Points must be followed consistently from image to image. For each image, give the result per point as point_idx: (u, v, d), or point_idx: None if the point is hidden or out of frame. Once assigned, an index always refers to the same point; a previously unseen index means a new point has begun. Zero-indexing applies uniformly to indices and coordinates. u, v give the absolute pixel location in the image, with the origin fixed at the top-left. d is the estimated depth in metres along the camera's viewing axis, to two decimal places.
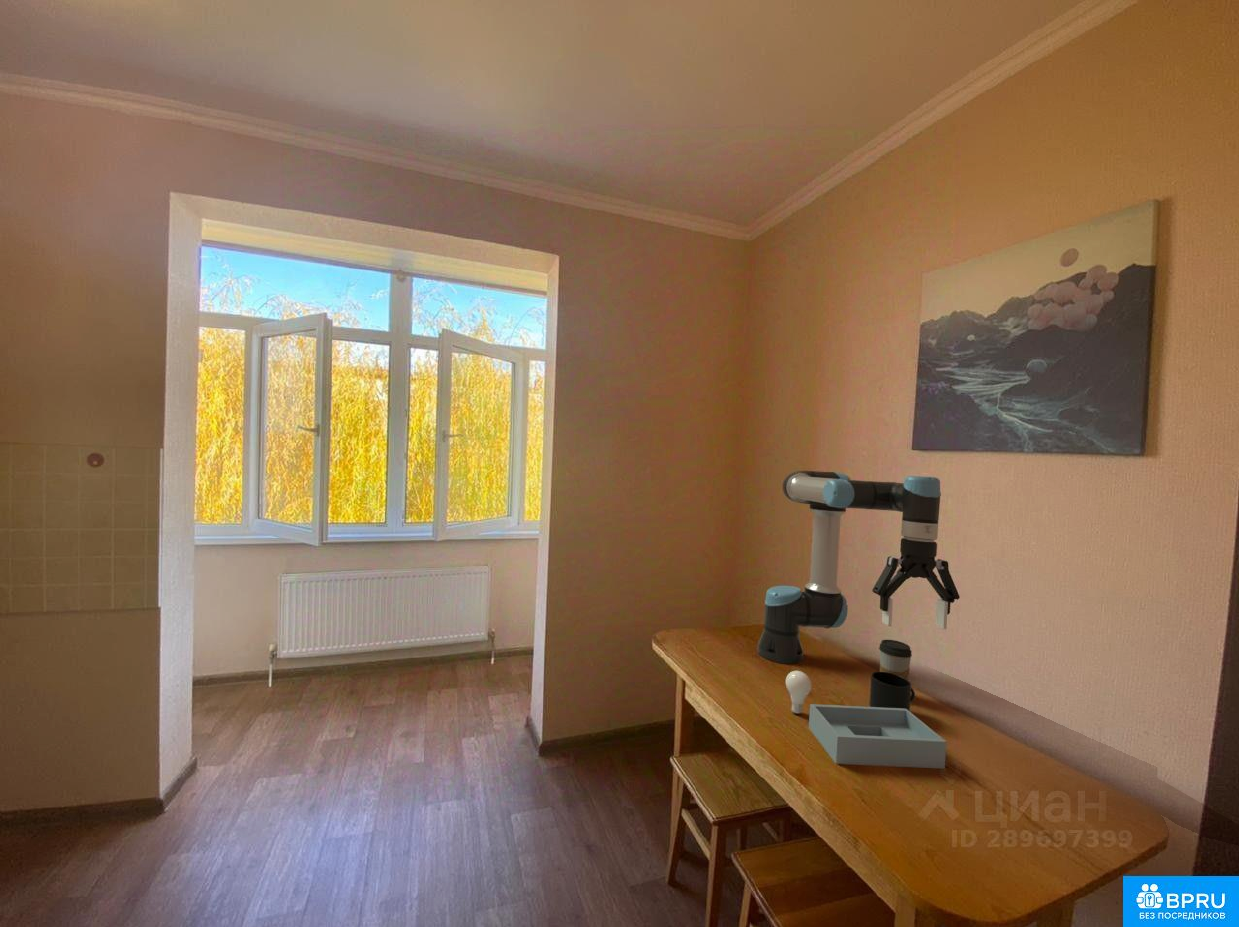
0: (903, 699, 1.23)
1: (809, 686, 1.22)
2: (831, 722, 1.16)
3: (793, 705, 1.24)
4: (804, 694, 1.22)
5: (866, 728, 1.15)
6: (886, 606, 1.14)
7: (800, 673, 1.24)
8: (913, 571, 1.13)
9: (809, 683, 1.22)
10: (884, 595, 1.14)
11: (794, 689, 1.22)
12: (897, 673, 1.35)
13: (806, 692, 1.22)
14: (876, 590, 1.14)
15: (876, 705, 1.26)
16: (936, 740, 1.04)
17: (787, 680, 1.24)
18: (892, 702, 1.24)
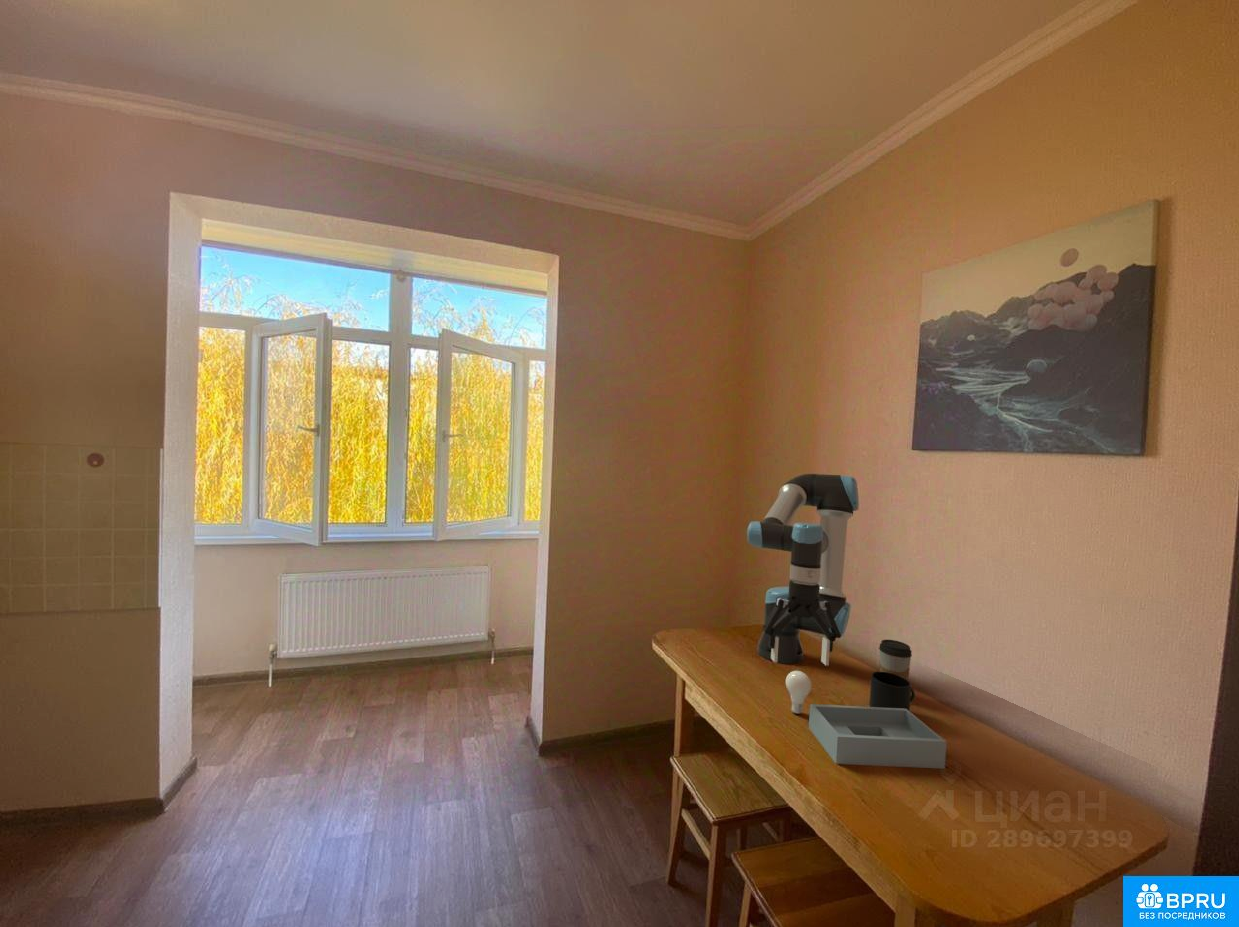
0: (903, 699, 1.23)
1: (809, 686, 1.22)
2: (831, 722, 1.16)
3: (793, 705, 1.24)
4: (804, 694, 1.22)
5: (866, 728, 1.15)
6: (773, 644, 1.23)
7: (800, 673, 1.24)
8: (797, 612, 1.23)
9: (809, 683, 1.22)
10: (771, 634, 1.23)
11: (794, 689, 1.22)
12: (897, 673, 1.35)
13: (806, 692, 1.22)
14: (764, 629, 1.24)
15: (876, 705, 1.26)
16: (936, 740, 1.04)
17: (787, 680, 1.24)
18: (892, 702, 1.24)
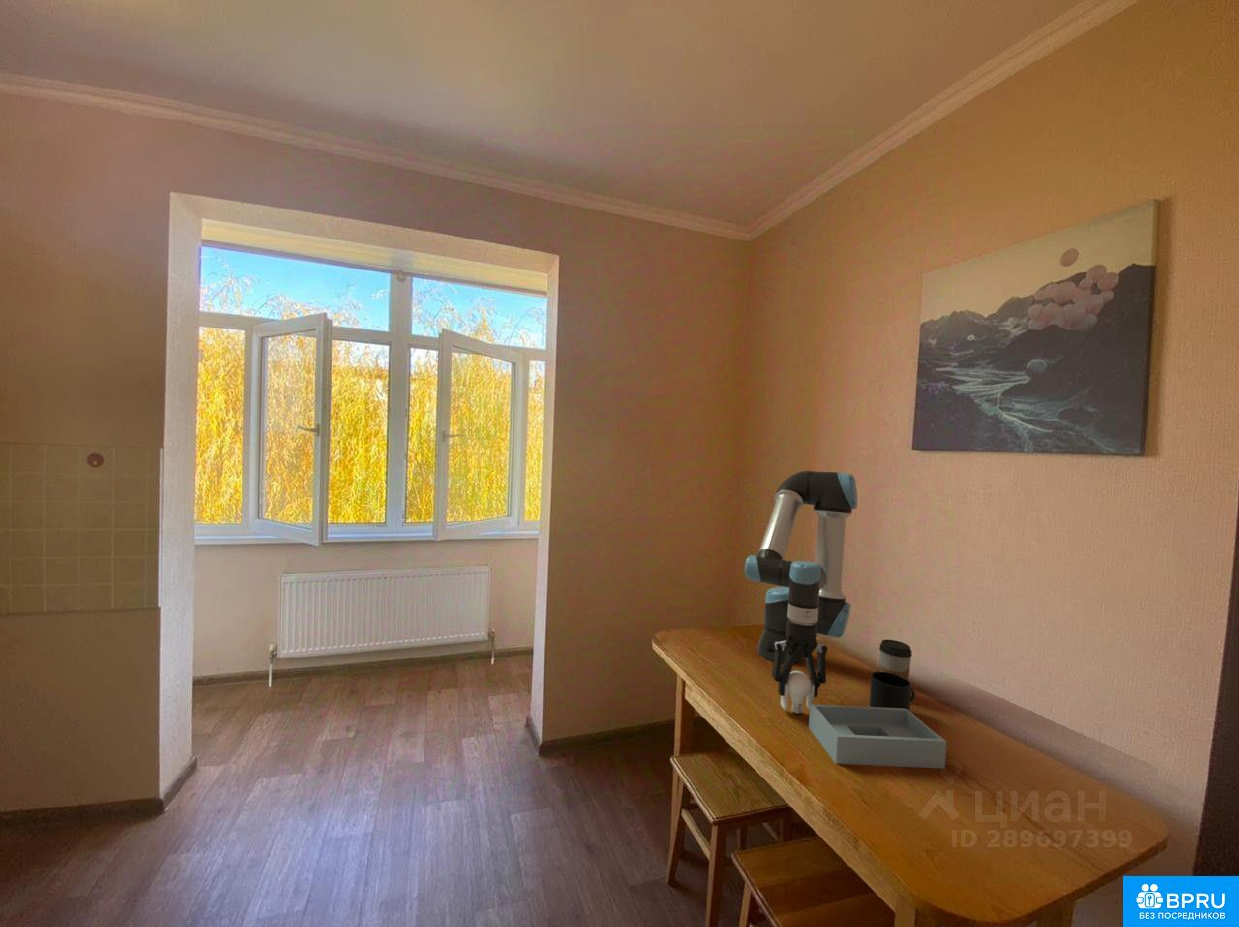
0: (903, 699, 1.23)
1: (809, 686, 1.22)
2: (831, 722, 1.16)
3: (793, 705, 1.24)
4: (804, 694, 1.22)
5: (866, 728, 1.15)
6: (783, 691, 1.24)
7: (800, 673, 1.24)
8: (797, 652, 1.23)
9: (809, 683, 1.22)
10: (781, 682, 1.23)
11: (793, 689, 1.22)
12: (897, 673, 1.35)
13: (806, 692, 1.22)
14: (774, 676, 1.24)
15: (876, 705, 1.26)
16: (936, 740, 1.04)
17: (787, 680, 1.24)
18: (892, 702, 1.24)
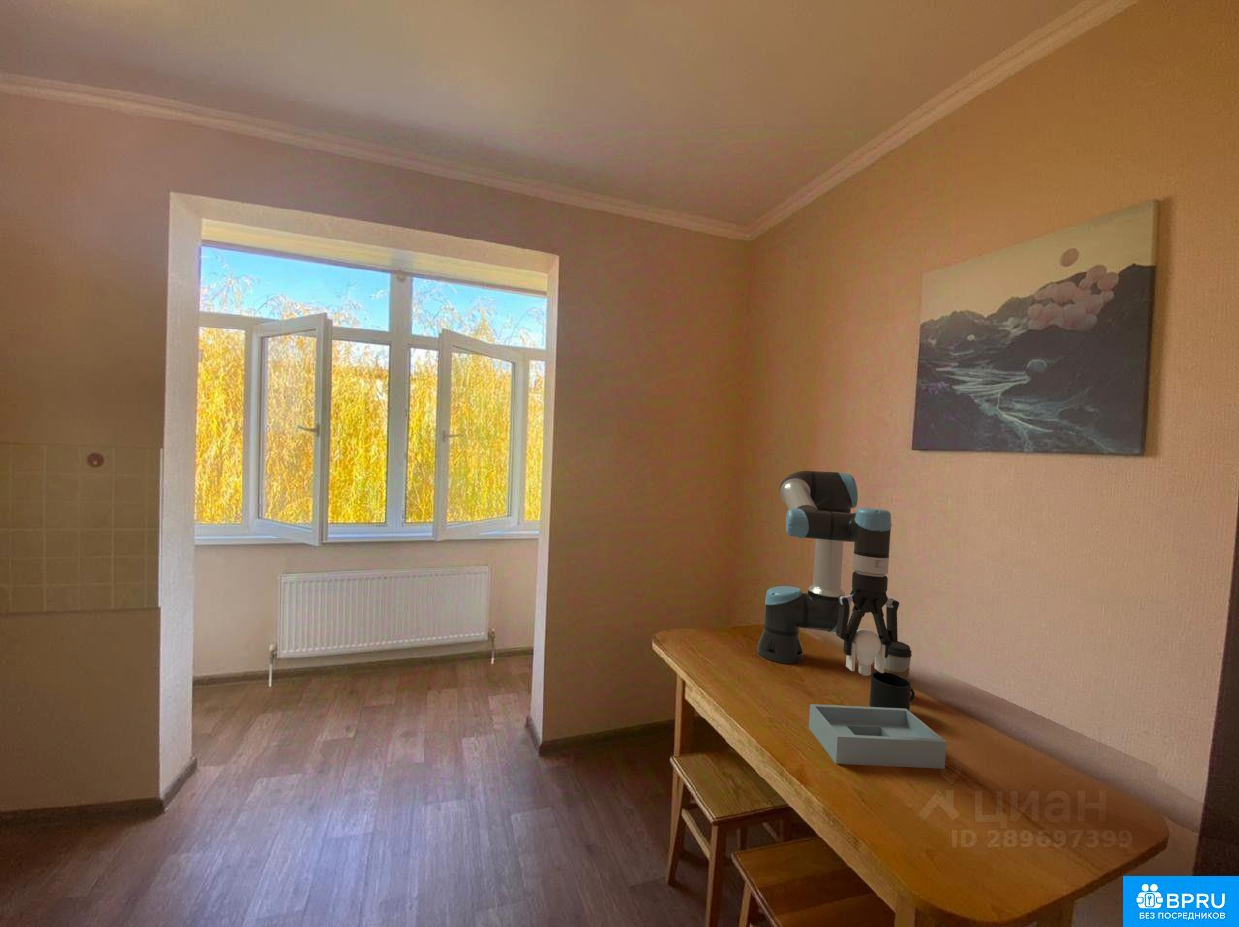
0: (903, 699, 1.23)
1: (879, 645, 1.10)
2: (831, 722, 1.16)
3: (861, 666, 1.12)
4: (874, 653, 1.10)
5: (866, 728, 1.15)
6: (850, 651, 1.12)
7: (868, 631, 1.12)
8: (865, 607, 1.11)
9: (879, 641, 1.10)
10: (847, 640, 1.11)
11: (862, 648, 1.10)
12: (897, 673, 1.35)
13: (876, 651, 1.10)
14: (839, 634, 1.12)
15: (876, 705, 1.26)
16: (936, 740, 1.04)
17: (854, 638, 1.12)
18: (892, 702, 1.24)
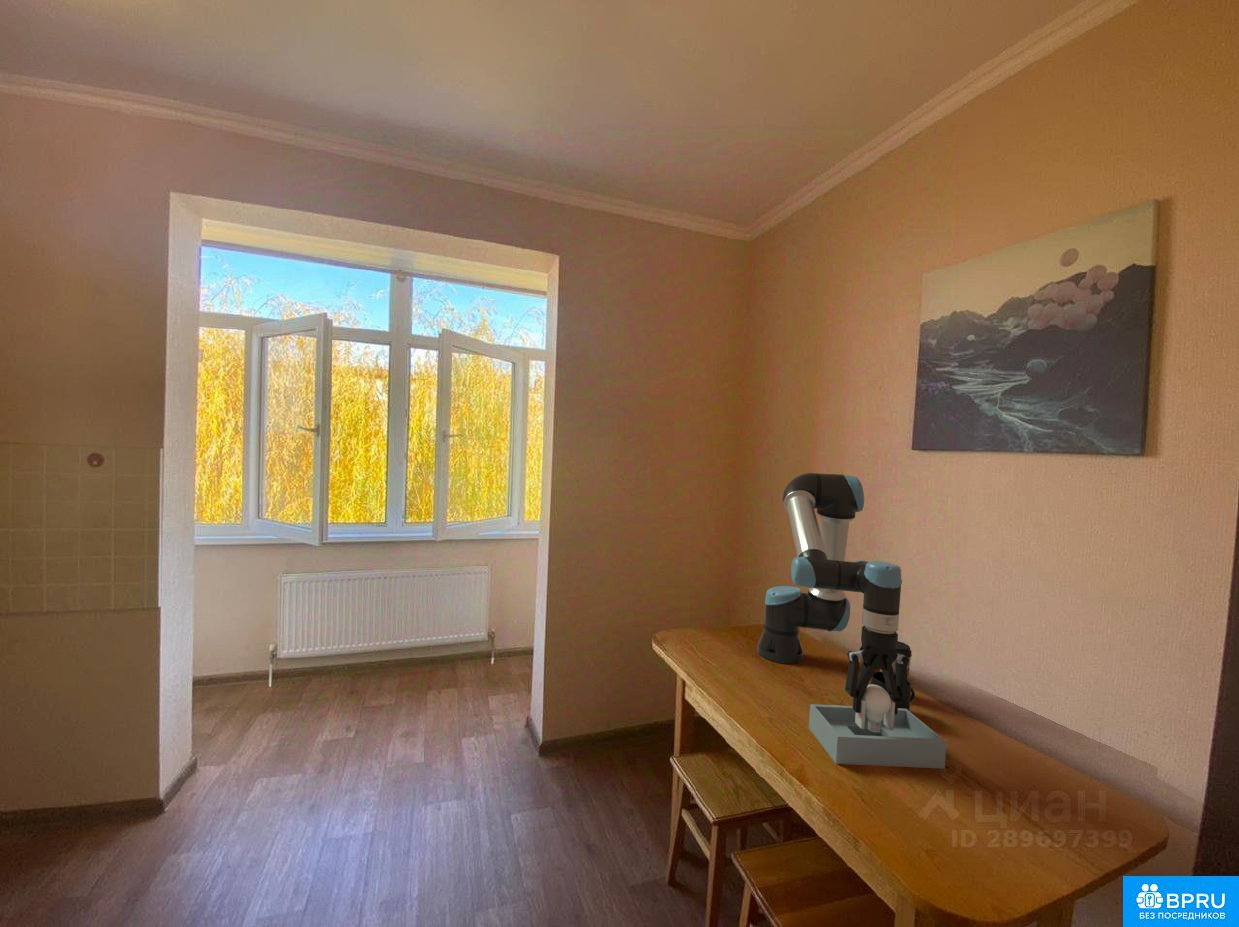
0: (903, 699, 1.23)
1: (890, 703, 1.08)
2: (831, 722, 1.16)
3: (870, 723, 1.10)
4: (884, 711, 1.08)
5: (866, 728, 1.15)
6: (859, 708, 1.10)
7: (878, 687, 1.10)
8: (875, 664, 1.09)
9: (889, 699, 1.09)
10: (857, 697, 1.10)
11: (872, 706, 1.08)
12: None
13: (886, 709, 1.08)
14: (849, 691, 1.10)
15: None
16: (936, 740, 1.04)
17: None
18: None
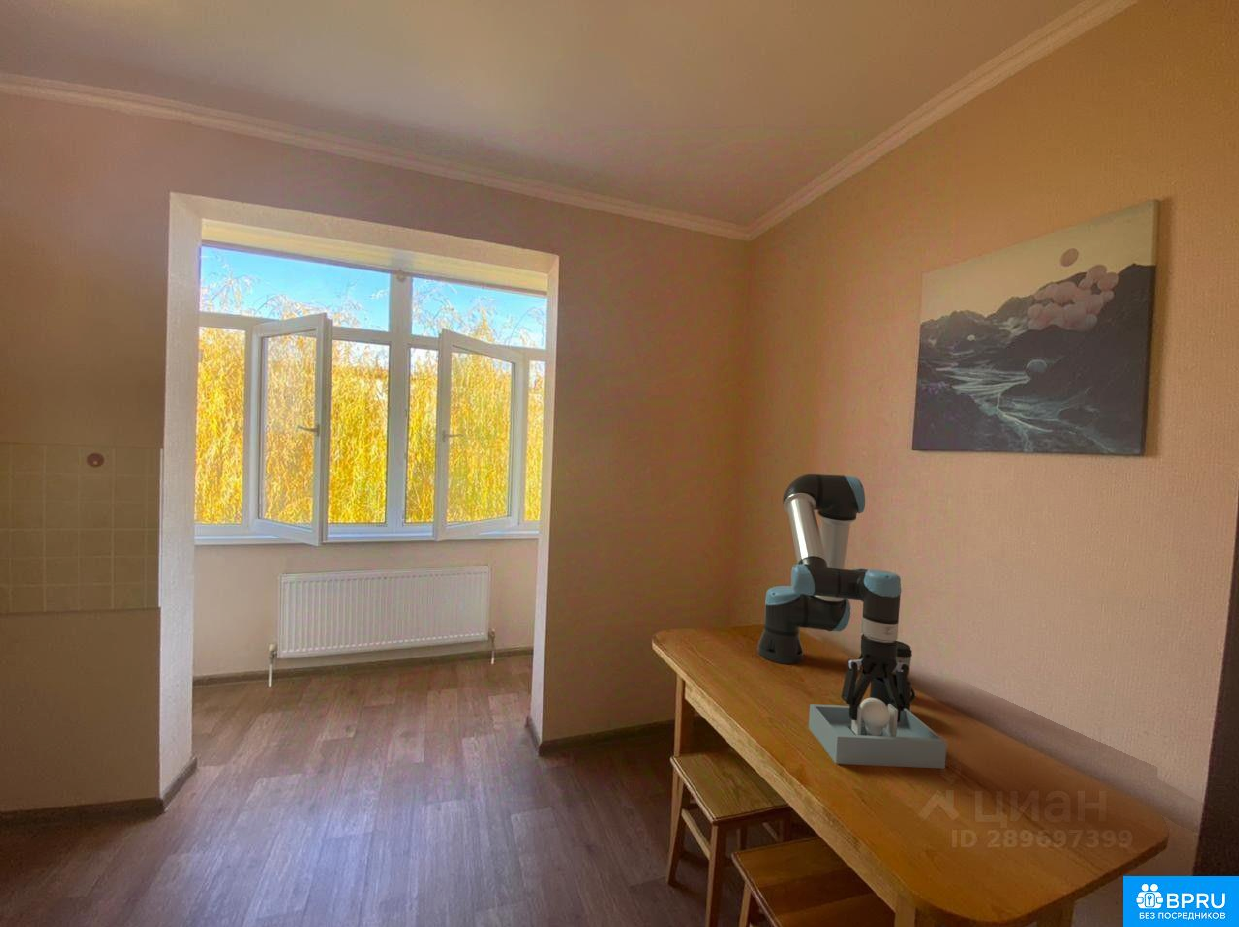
0: None
1: (888, 716, 1.08)
2: (831, 722, 1.16)
3: None
4: (883, 725, 1.08)
5: None
6: (855, 715, 1.10)
7: (877, 701, 1.10)
8: (874, 673, 1.09)
9: (888, 712, 1.09)
10: (853, 704, 1.10)
11: (871, 720, 1.08)
12: None
13: (885, 723, 1.08)
14: (845, 698, 1.10)
15: None
16: (936, 740, 1.04)
17: (862, 709, 1.11)
18: None
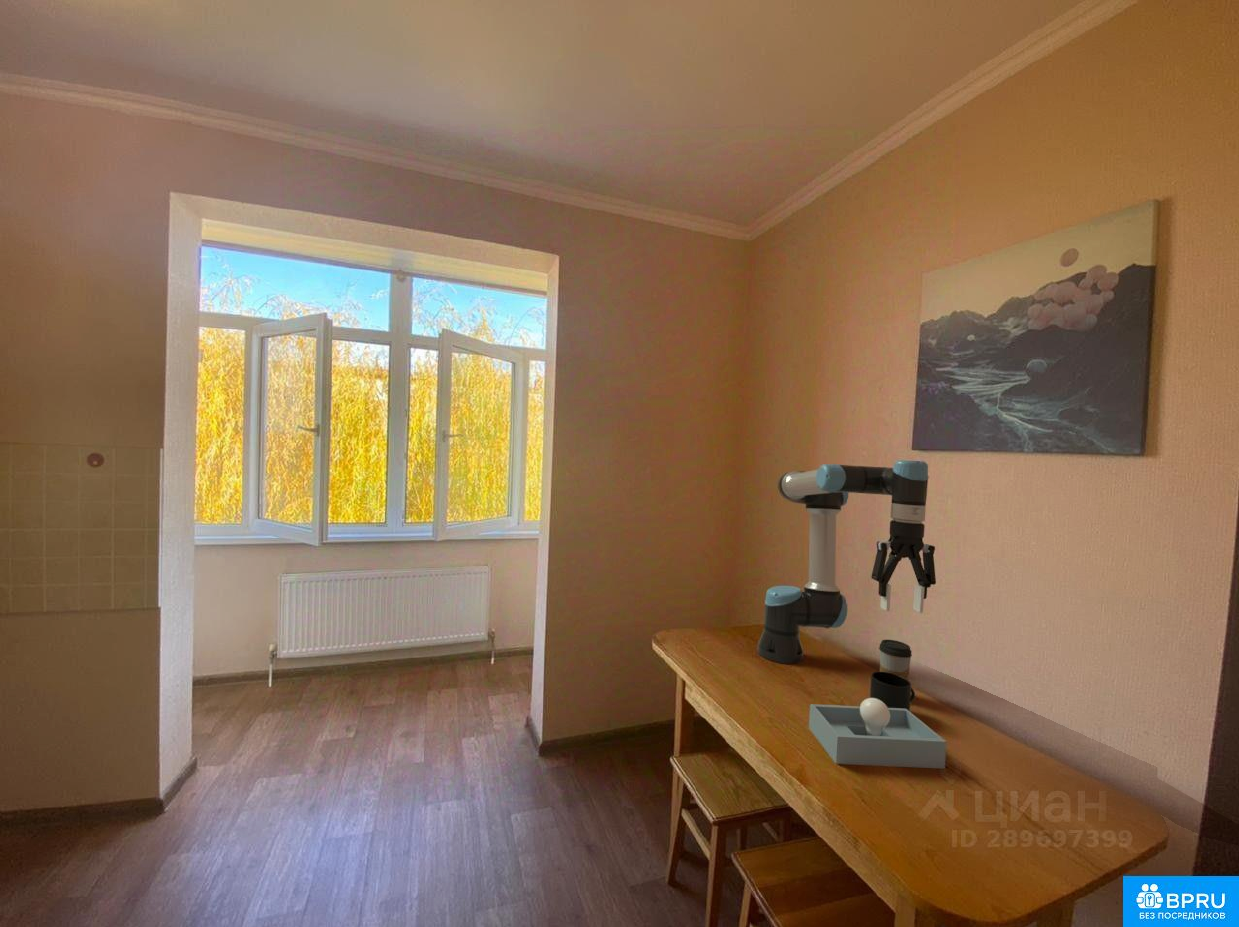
0: (903, 699, 1.23)
1: (889, 717, 1.08)
2: (831, 722, 1.16)
3: None
4: (883, 725, 1.08)
5: None
6: (885, 592, 1.19)
7: (877, 701, 1.10)
8: (903, 552, 1.18)
9: (888, 713, 1.09)
10: (882, 582, 1.19)
11: (871, 720, 1.08)
12: (897, 673, 1.35)
13: (886, 723, 1.08)
14: (875, 576, 1.19)
15: None
16: (936, 740, 1.04)
17: (862, 709, 1.11)
18: (892, 702, 1.24)
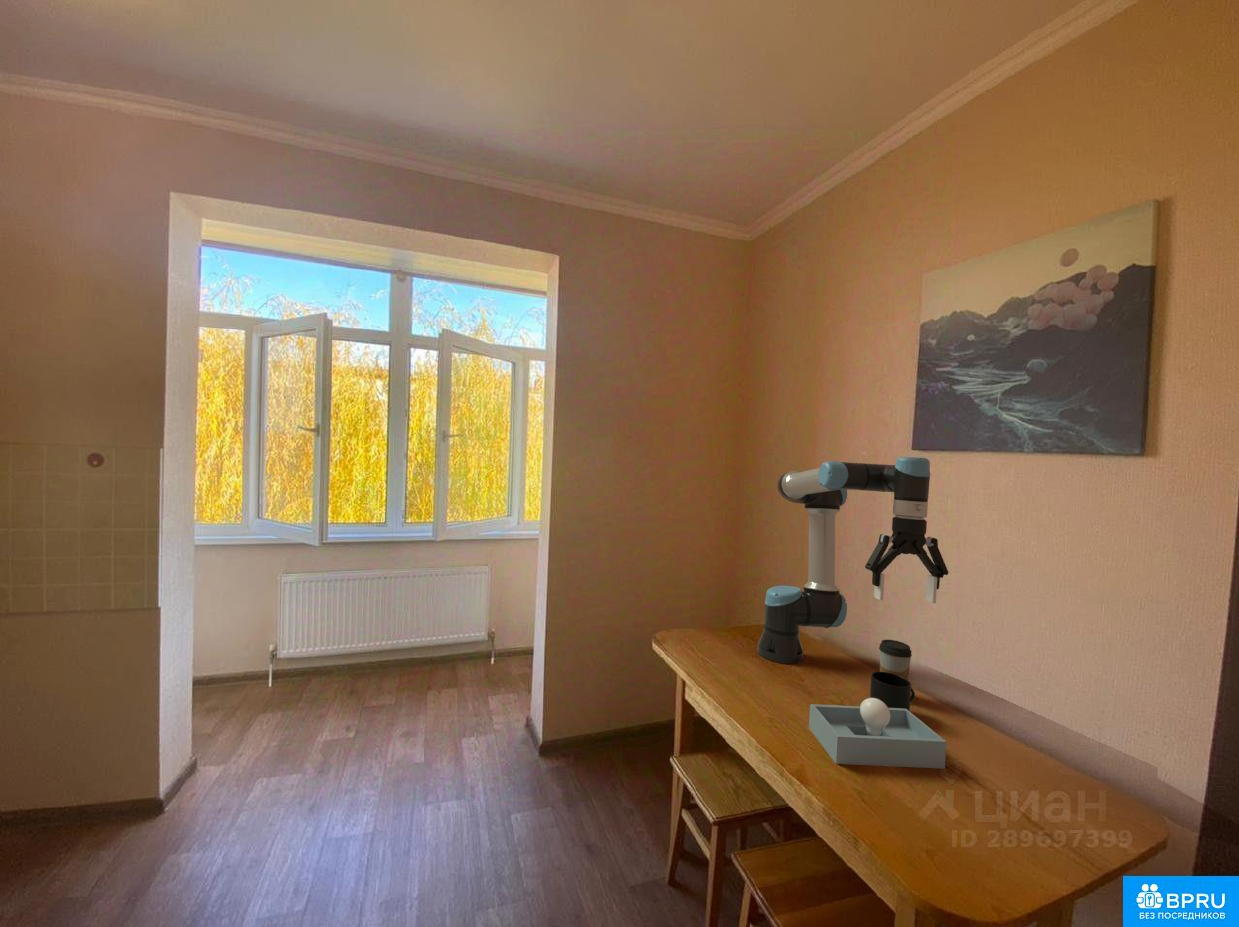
0: (903, 699, 1.23)
1: (889, 717, 1.08)
2: (831, 722, 1.16)
3: None
4: (883, 725, 1.08)
5: None
6: (878, 581, 1.19)
7: (877, 701, 1.10)
8: (904, 548, 1.18)
9: (889, 713, 1.09)
10: (876, 571, 1.19)
11: (871, 720, 1.08)
12: (897, 673, 1.35)
13: (886, 723, 1.08)
14: (868, 566, 1.20)
15: None
16: (936, 740, 1.04)
17: (863, 709, 1.11)
18: (892, 702, 1.24)
